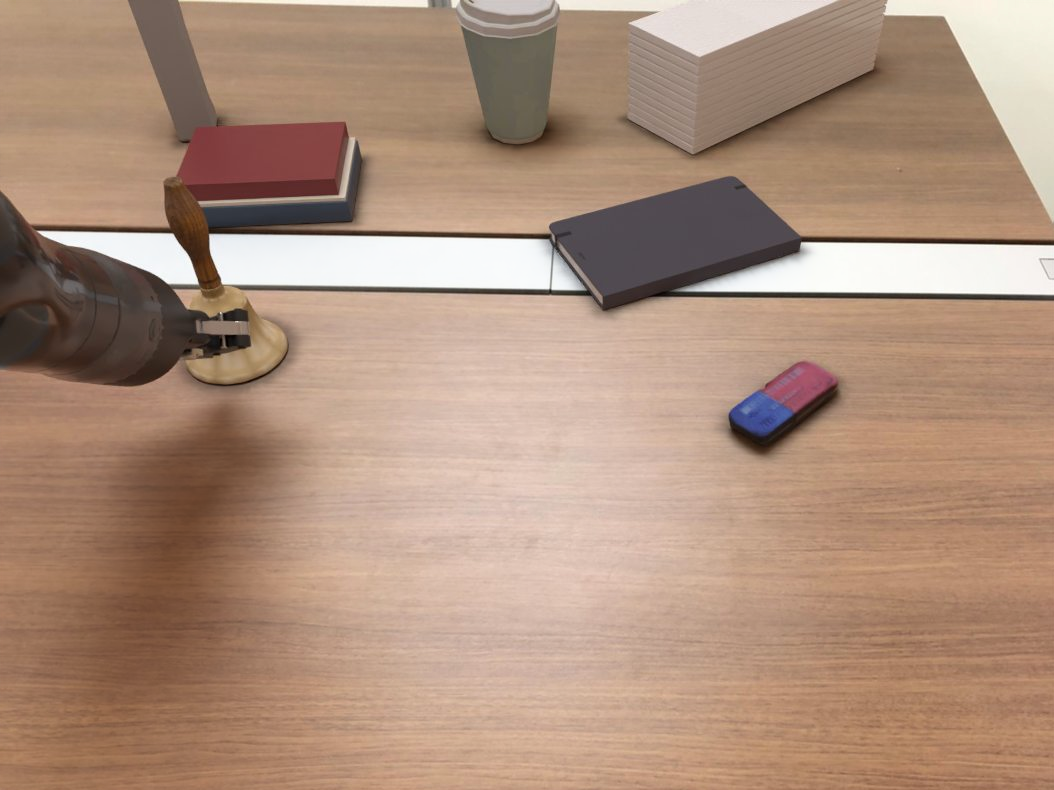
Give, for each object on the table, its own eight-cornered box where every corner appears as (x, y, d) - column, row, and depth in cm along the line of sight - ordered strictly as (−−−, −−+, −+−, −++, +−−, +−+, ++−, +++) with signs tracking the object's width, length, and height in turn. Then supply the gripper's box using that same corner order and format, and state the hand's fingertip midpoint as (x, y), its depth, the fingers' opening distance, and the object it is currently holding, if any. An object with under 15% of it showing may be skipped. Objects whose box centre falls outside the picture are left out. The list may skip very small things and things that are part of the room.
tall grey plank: (218, 117, 105) (132, -139, 87) (216, 139, 102) (127, -122, 84) (183, 121, 105) (89, -136, 86) (180, 143, 102) (83, -119, 83)
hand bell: (184, 332, 80) (109, 162, 69) (283, 314, 82) (227, 145, 71) (187, 394, 75) (106, 223, 63) (292, 373, 77) (234, 203, 65)
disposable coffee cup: (531, 100, 110) (522, -37, 99) (584, 137, 104) (581, -4, 93) (453, 125, 105) (434, -15, 94) (503, 166, 100) (489, 22, 89)
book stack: (352, 221, 92) (342, 181, 89) (184, 229, 91) (168, 188, 88) (362, 159, 100) (353, 120, 97) (208, 165, 99) (194, 125, 95)
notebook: (602, 310, 84) (800, 251, 90) (602, 296, 82) (802, 237, 89) (546, 237, 91) (732, 187, 98) (545, 223, 90) (734, 174, 97)
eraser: (805, 366, 79) (809, 349, 78) (844, 389, 77) (848, 373, 76) (718, 429, 74) (720, 412, 72) (758, 456, 72) (761, 439, 70)
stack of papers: (808, 41, 122) (821, -48, 114) (873, 69, 117) (892, -22, 109) (627, 119, 107) (628, 22, 99) (692, 155, 102) (699, 56, 94)
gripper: (204, 248, 54) (287, 290, 72) (-35, 259, 53) (108, 300, 70) (216, 376, 55) (296, 388, 72) (-21, 390, 54) (118, 399, 71)
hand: (202, 344), depth 71 cm, fingers closed
